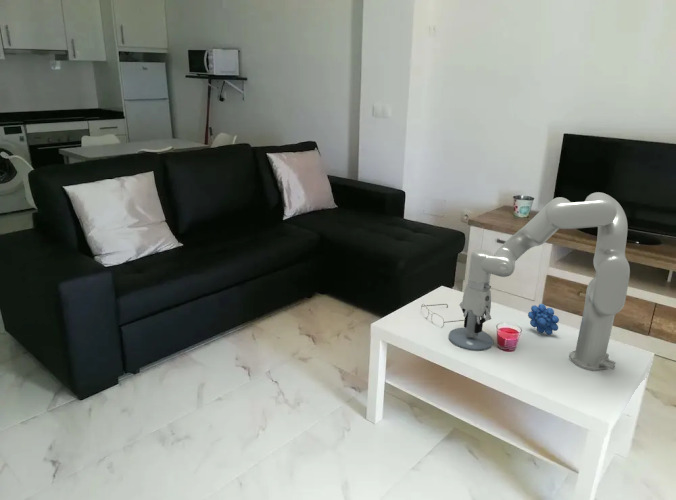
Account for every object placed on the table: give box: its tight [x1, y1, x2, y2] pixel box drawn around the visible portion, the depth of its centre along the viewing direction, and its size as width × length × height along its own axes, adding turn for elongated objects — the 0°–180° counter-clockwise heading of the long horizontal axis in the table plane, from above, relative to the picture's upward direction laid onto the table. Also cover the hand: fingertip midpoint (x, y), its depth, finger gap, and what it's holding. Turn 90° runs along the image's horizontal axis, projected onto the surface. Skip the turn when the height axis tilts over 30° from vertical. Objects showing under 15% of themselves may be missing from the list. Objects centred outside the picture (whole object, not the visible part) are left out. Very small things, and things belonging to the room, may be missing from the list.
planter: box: [466, 310, 478, 337], centre depth 193 cm, size 4×4×10 cm
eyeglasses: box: [420, 303, 465, 329], centre depth 212 cm, size 16×15×5 cm
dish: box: [448, 326, 494, 352], centre depth 195 cm, size 16×16×1 cm
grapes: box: [527, 303, 560, 336], centre depth 200 cm, size 12×7×12 cm, turn 58°
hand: (472, 328), depth 194 cm, fingers closed on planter, 4 cm apart
